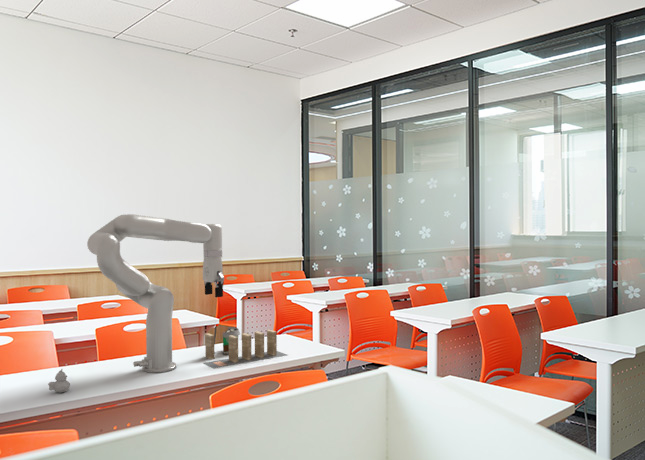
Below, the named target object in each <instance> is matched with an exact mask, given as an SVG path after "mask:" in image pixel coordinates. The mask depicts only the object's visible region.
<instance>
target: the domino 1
mask: <svg viewBox="0 0 645 460" xmlns="http://www.w3.org/2000/svg"><path fill="white" fill-rule="evenodd" d="M204 337H205V344H204V345H205V358H207V359H209V360H214V359H215V334H212V333H210V332H209V333H205V336H204Z"/></svg>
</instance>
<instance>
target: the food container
mask: <svg viewBox="0 0 645 460" xmlns="http://www.w3.org/2000/svg"><path fill="white" fill-rule="evenodd" d="M229 335H233V336H236V337H238V338H239V335H241V333H240V330H239V328H238V327H235V326H228V327H227V330H225V331H223V332H222V351H223V352H222V353H223V355H224V356H226V355H228V356H229Z"/></svg>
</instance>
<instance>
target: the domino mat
mask: <svg viewBox="0 0 645 460" xmlns="http://www.w3.org/2000/svg"><path fill="white" fill-rule="evenodd" d="M285 356H288V354H287V353H284V352H281V351H278V350H277V355H276V356H272V355H269V354H267V351H264V358H259V357H257V356H255V353H254V354H252V353H251V360H246V359H243V358H242V355H241V356H238V362H237V363H234V362H232V361H229V358H225V359H218V360H213V361H206V362H203V363H202V364H203V365H205V366H208V367H210V368H212V369H219V368H225V367H229V366H236V365H241V364H242V365H243V364H247V363H254V362H258V361H263V360H268V359H269V360H270V359H275V358H279V357H285Z"/></svg>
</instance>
